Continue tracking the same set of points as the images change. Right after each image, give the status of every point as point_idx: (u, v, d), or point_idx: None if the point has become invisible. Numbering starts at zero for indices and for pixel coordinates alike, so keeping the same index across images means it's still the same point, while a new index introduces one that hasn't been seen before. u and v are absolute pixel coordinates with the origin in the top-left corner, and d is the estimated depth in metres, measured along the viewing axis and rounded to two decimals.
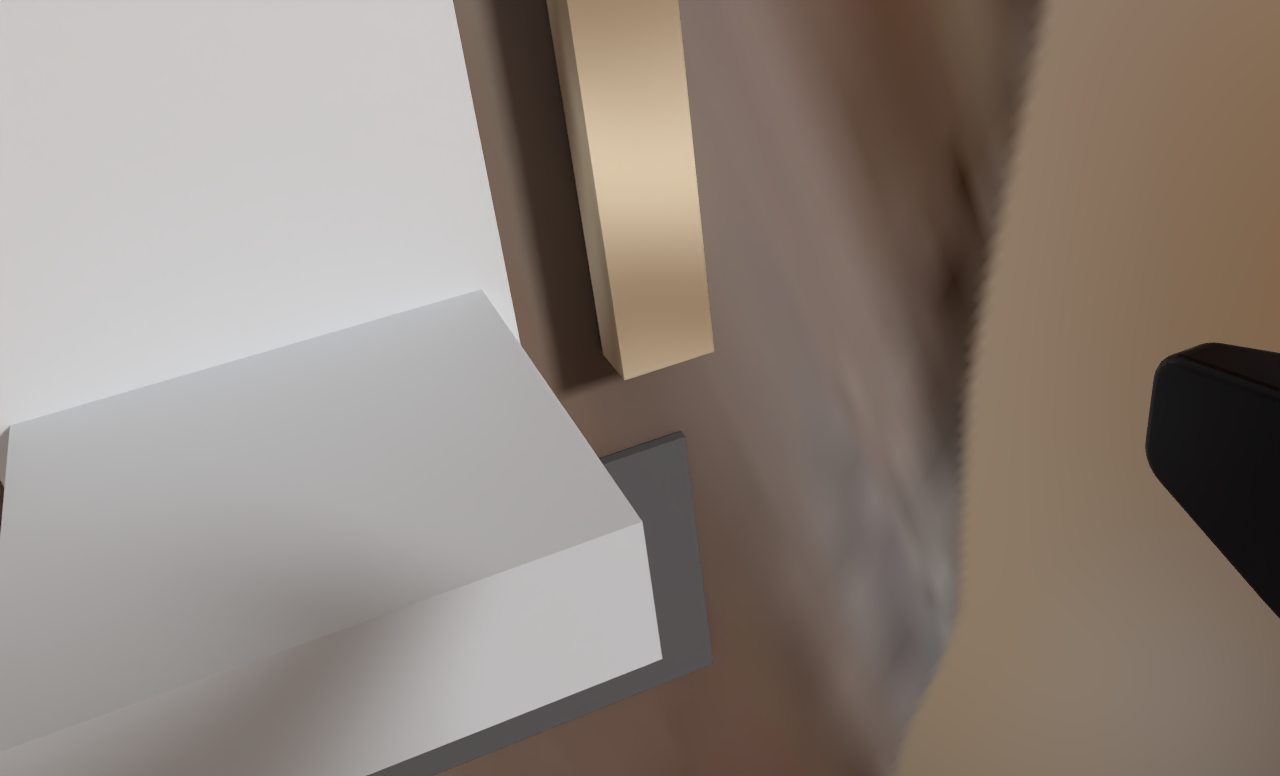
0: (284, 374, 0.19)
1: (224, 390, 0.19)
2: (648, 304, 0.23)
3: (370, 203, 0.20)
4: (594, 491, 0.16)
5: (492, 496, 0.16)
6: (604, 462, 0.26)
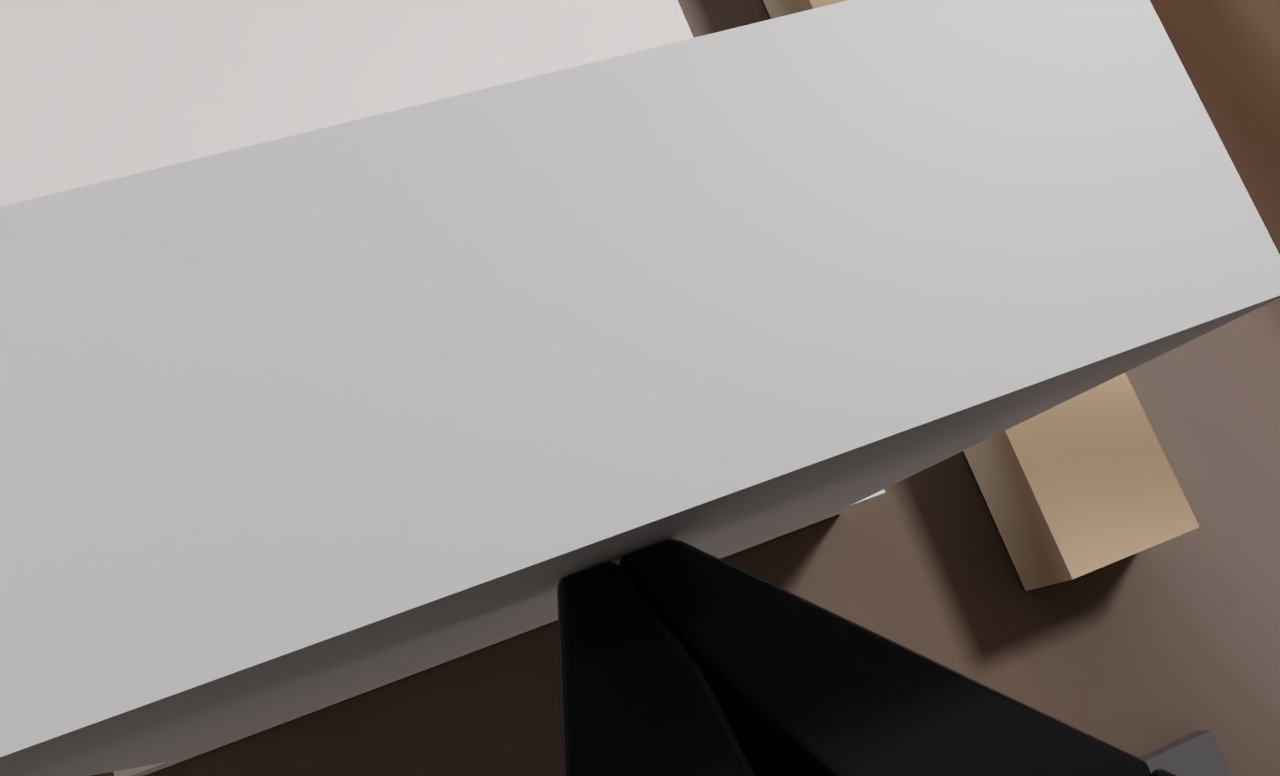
0: None
1: None
2: (1067, 449, 0.15)
3: None
4: None
5: None
6: None
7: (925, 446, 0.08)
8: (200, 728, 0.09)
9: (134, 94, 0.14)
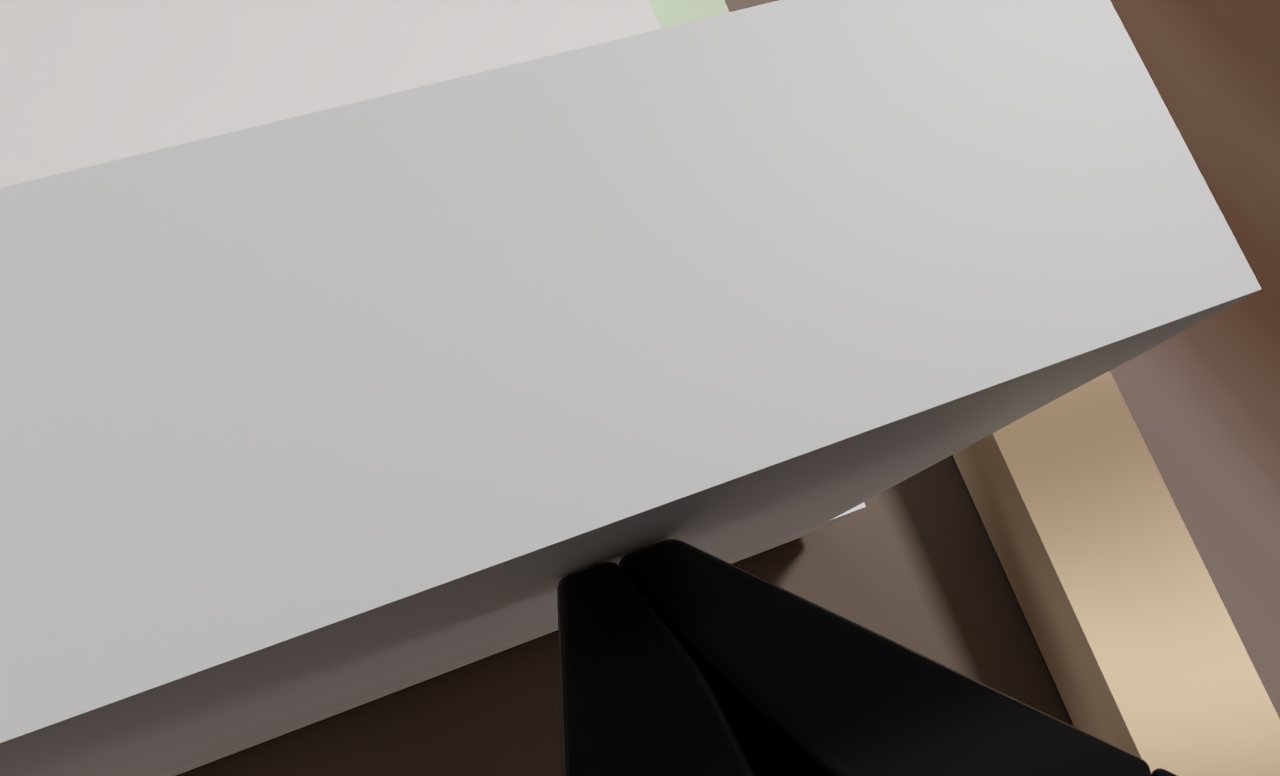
0: None
1: None
2: None
3: None
4: None
5: None
6: None
7: (888, 455, 0.08)
8: (145, 751, 0.08)
9: (102, 110, 0.14)
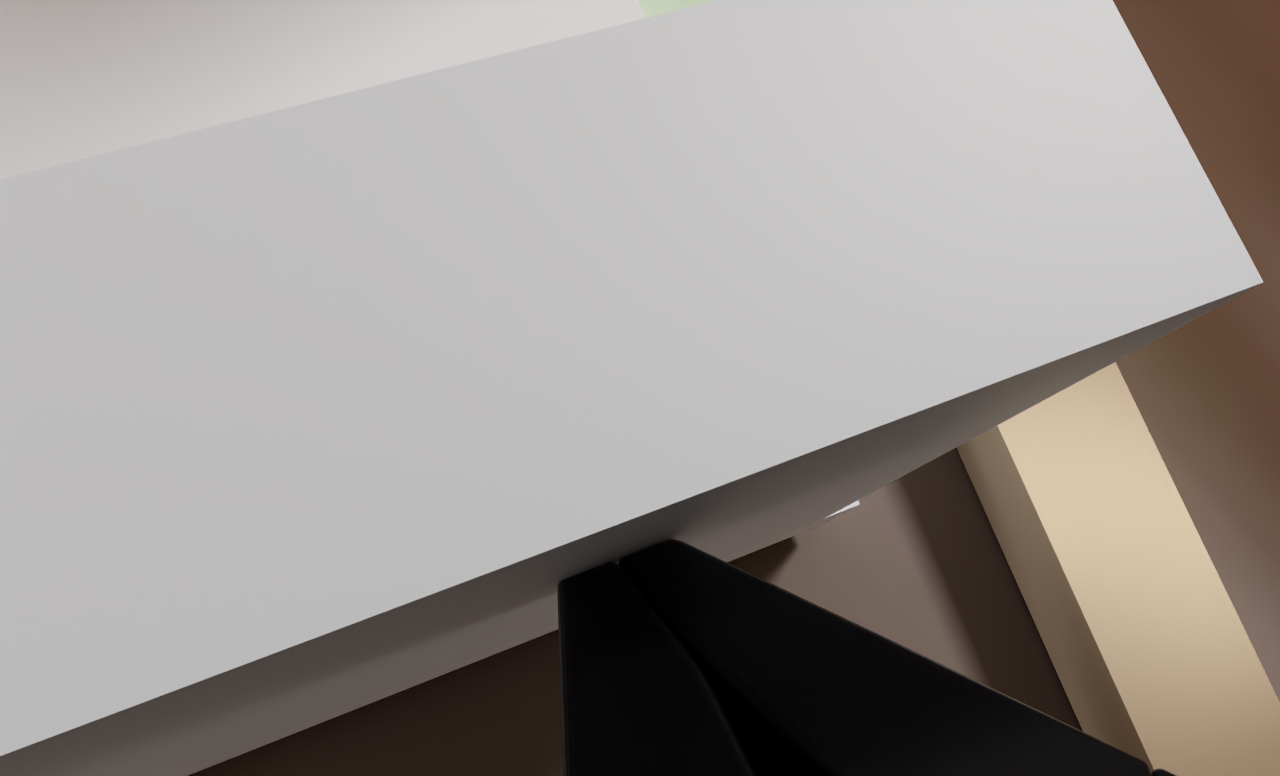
0: None
1: None
2: None
3: None
4: None
5: None
6: None
7: (881, 456, 0.08)
8: (122, 768, 0.08)
9: (78, 109, 0.13)
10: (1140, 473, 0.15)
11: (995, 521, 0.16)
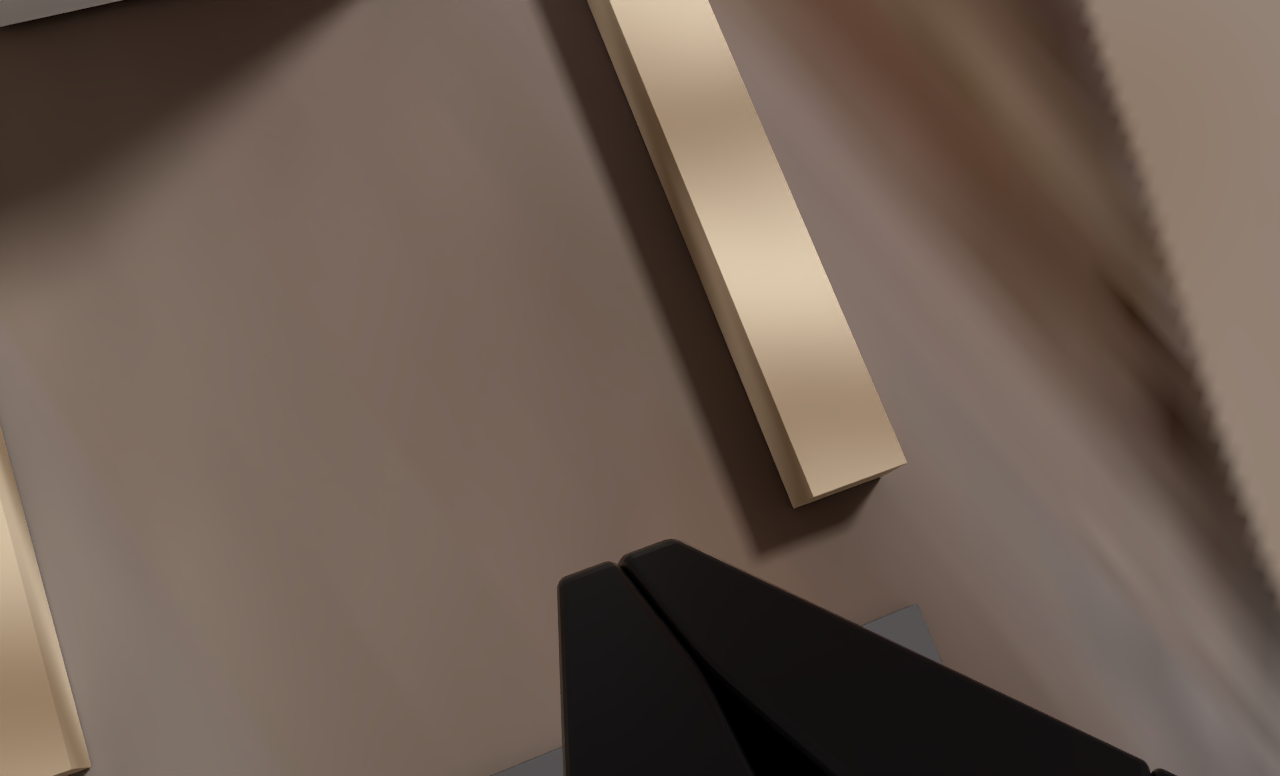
0: None
1: None
2: (816, 408, 0.22)
3: None
4: None
5: None
6: None
7: None
8: None
9: None
10: None
11: None
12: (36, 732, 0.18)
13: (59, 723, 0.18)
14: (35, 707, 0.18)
